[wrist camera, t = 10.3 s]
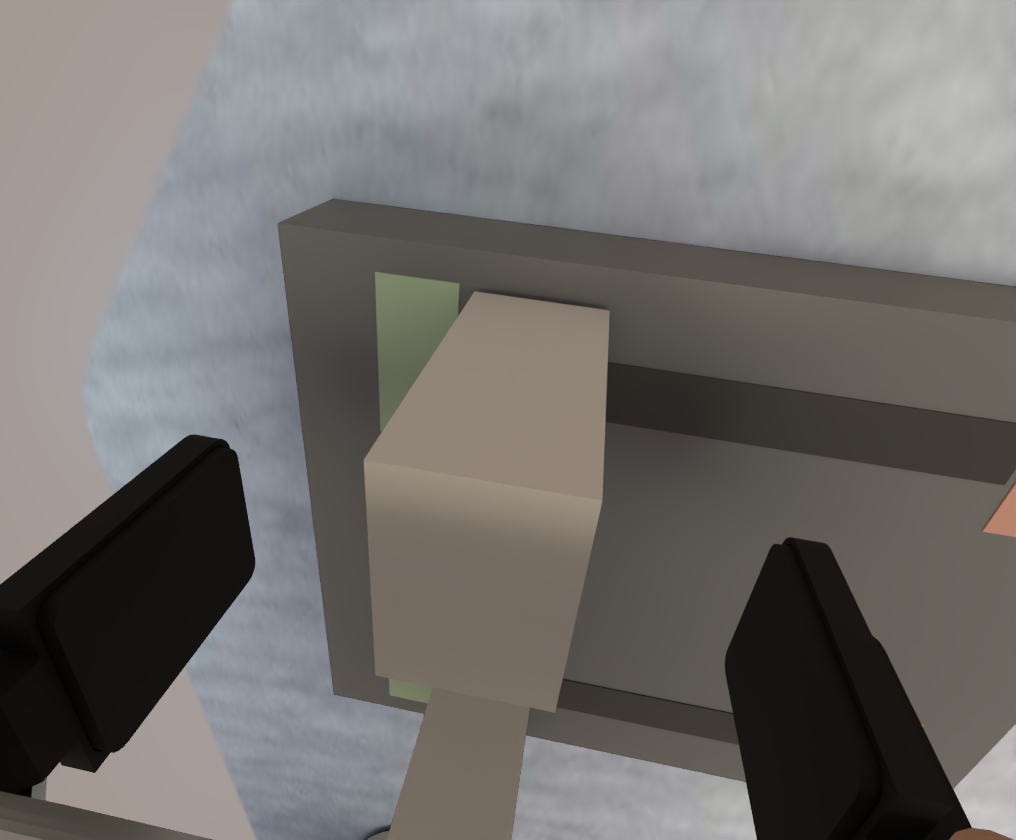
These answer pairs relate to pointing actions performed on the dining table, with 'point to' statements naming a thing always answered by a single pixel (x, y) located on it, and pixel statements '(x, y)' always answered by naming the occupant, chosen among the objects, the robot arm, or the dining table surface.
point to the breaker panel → (695, 460)
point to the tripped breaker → (490, 502)
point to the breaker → (463, 771)
